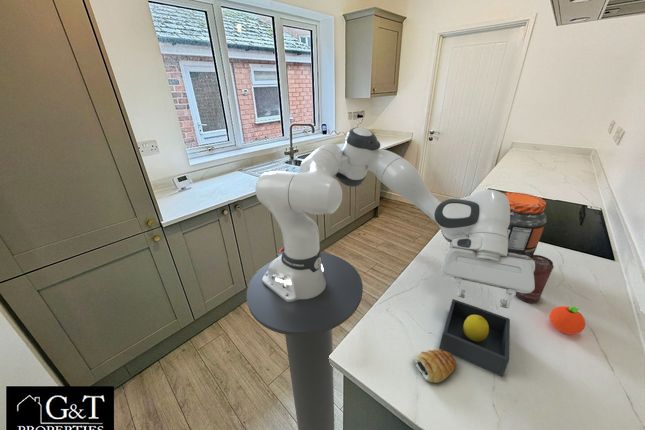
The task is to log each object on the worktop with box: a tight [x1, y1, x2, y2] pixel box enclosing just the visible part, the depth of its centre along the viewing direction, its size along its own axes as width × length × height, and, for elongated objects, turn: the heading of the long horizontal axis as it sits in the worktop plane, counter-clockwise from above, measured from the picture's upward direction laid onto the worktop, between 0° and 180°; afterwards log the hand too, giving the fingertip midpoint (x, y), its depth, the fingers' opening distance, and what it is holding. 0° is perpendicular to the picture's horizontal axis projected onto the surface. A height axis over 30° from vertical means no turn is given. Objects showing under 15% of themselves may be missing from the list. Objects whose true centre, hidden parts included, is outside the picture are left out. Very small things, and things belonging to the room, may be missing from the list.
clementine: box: [549, 305, 586, 335], centre depth 69 cm, size 8×7×7 cm
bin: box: [438, 298, 511, 377], centre depth 67 cm, size 14×14×6 cm
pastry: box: [413, 349, 457, 384], centre depth 61 cm, size 9×7×4 cm
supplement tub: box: [502, 191, 548, 257], centre depth 91 cm, size 16×16×26 cm
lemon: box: [463, 315, 489, 342], centre depth 66 cm, size 6×6×8 cm
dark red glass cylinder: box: [515, 254, 554, 304], centre depth 78 cm, size 6×6×14 cm
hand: (482, 302), depth 65 cm, fingers open, 8 cm apart
